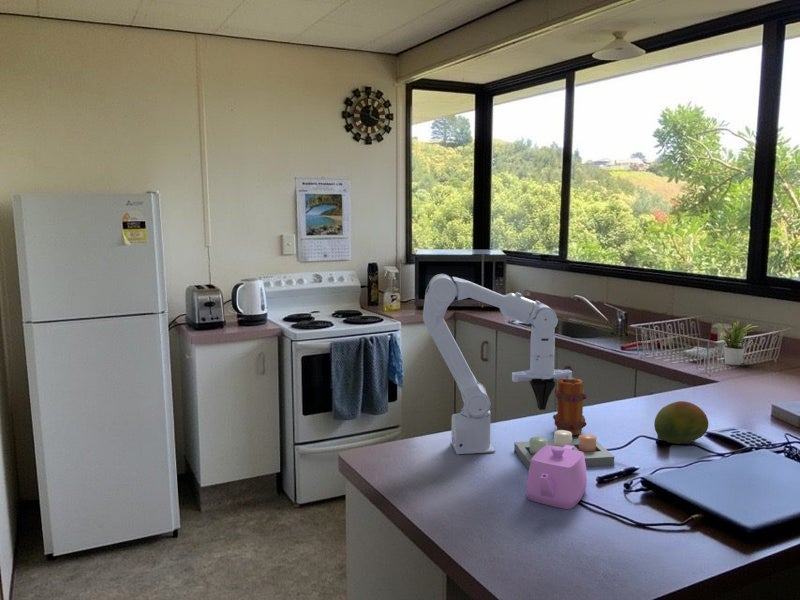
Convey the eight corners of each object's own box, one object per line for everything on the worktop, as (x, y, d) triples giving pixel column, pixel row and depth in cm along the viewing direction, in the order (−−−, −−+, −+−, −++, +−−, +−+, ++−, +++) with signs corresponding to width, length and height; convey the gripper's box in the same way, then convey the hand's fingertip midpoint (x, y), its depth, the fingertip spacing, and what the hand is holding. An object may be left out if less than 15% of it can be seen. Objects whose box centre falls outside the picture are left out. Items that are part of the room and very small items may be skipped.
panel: (529, 470, 145) (529, 461, 145) (514, 450, 157) (514, 442, 156) (614, 464, 147) (614, 456, 147) (593, 445, 159) (593, 437, 158)
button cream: (557, 454, 149) (557, 436, 149) (551, 447, 153) (552, 430, 153) (574, 453, 150) (574, 435, 149) (567, 446, 154) (568, 429, 153)
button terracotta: (582, 458, 150) (582, 440, 150) (575, 451, 154) (576, 434, 153) (598, 457, 151) (599, 439, 150) (591, 450, 155) (592, 433, 154)
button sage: (532, 461, 149) (532, 443, 148) (527, 454, 153) (527, 437, 152) (549, 460, 149) (549, 442, 149) (543, 453, 153) (543, 436, 153)
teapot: (567, 520, 122) (569, 469, 120) (515, 507, 127) (516, 458, 126) (593, 485, 137) (595, 439, 135) (546, 474, 143) (547, 430, 141)
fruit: (712, 440, 161) (714, 402, 159) (694, 455, 152) (697, 415, 150) (665, 430, 168) (667, 393, 167) (646, 443, 159) (647, 405, 158)
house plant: (766, 368, 227) (769, 323, 224) (727, 369, 227) (729, 324, 225) (745, 359, 241) (748, 316, 239) (708, 359, 241) (710, 317, 239)
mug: (588, 439, 163) (589, 382, 160) (555, 438, 164) (556, 381, 161) (579, 420, 177) (581, 367, 175) (549, 419, 178) (550, 367, 176)
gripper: (517, 359, 150) (517, 415, 152) (577, 357, 152) (576, 412, 154) (509, 352, 157) (509, 406, 159) (566, 350, 159) (565, 403, 161)
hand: (541, 408), depth 157 cm, fingers closed
